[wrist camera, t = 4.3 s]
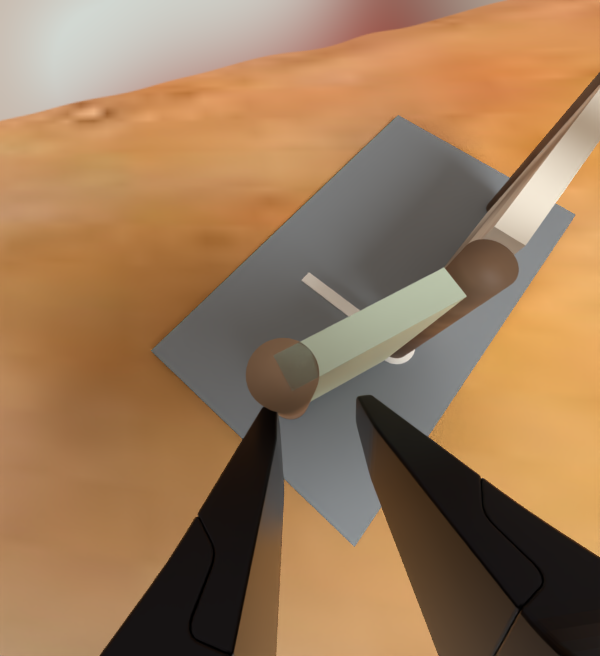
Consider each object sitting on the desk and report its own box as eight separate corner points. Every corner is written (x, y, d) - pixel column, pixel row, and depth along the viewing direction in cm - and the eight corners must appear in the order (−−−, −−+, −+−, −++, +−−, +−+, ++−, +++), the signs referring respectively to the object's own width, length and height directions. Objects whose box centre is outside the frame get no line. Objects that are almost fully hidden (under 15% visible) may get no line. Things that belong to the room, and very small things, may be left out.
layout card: (353, 544, 13) (355, 547, 13) (153, 352, 16) (150, 350, 16) (571, 217, 19) (577, 213, 19) (396, 119, 22) (398, 113, 22)
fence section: (398, 364, 16) (501, 300, 8) (374, 346, 16) (449, 266, 8) (515, 209, 19) (671, 52, 11) (493, 196, 20) (629, 35, 11)
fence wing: (369, 338, 16) (435, 256, 8) (388, 367, 15) (476, 308, 8) (266, 393, 15) (233, 358, 7) (283, 426, 14) (265, 425, 7)
